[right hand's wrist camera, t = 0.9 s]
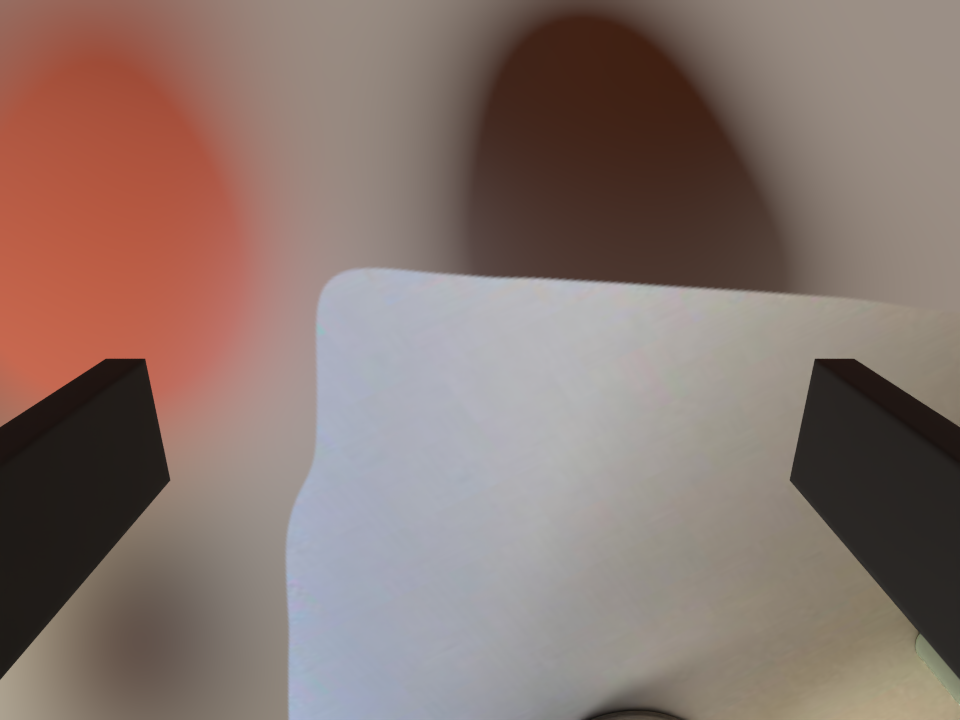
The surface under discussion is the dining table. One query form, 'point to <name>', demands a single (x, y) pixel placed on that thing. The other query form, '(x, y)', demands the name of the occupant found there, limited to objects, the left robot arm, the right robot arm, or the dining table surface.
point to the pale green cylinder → (938, 667)
